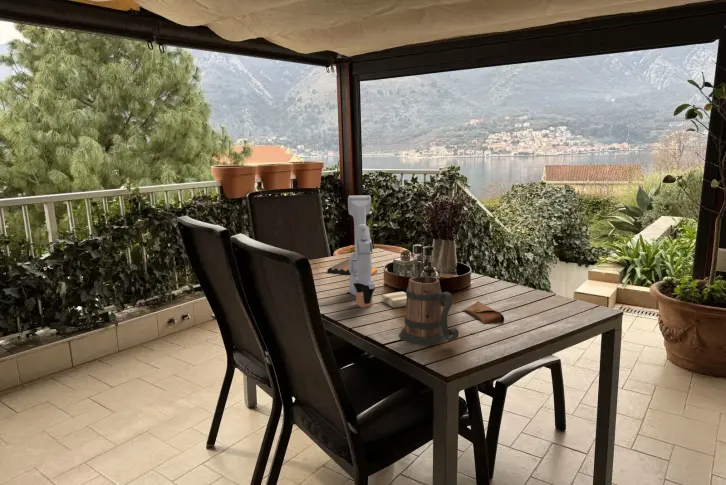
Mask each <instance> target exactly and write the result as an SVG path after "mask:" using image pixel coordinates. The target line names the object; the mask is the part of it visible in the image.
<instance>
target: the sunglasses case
mask: <svg viewBox="0 0 726 485" xmlns="http://www.w3.org/2000/svg"><path fill="white" fill-rule="evenodd" d="M462 312H463V313H466V314H468V315H469V316H472V318H474V319H476V320H478V321H480V322H481V323H482V324H483V325H491V324H499V323H500V324H501V323H504V322H505V317H504V315H503V314H502V313H501V312H499V311H496V310H495V309H493V308H491V307H489V306H488V305H486V304H484V303H482V302H480V301H479V300H477V301H476V302H475V303H473V304H471V305H470V306H468V307H466V308H465V309H463V310H462Z"/></svg>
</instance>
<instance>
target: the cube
mask: <svg viewBox="0 0 726 485" xmlns="http://www.w3.org/2000/svg"><path fill="white" fill-rule="evenodd" d="M355 297H356V298H355V299H356V301H355V303H356V305H357V306H358V307H360V308H367V307H372V306H373V296H372V297H371V301H370V303H368V304H365V302H364V295H363V292H357V293H356V296H355Z"/></svg>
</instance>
